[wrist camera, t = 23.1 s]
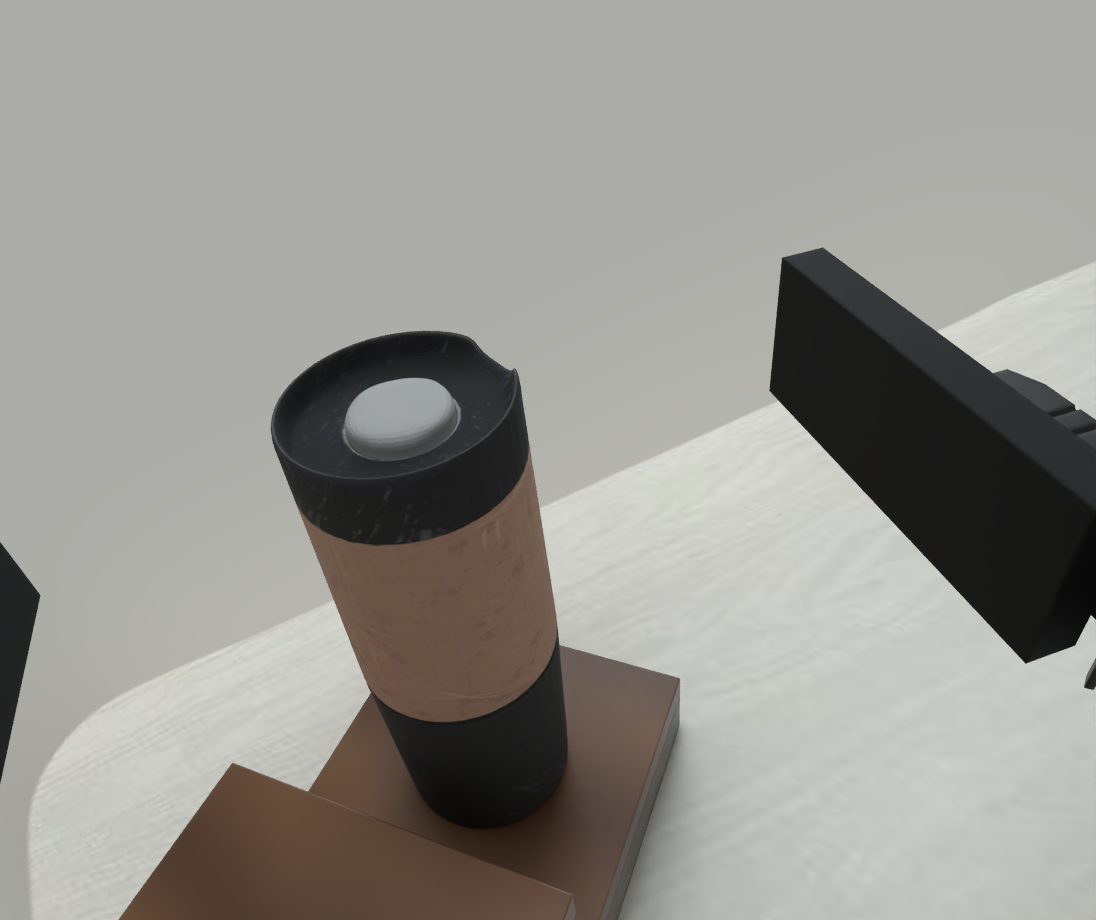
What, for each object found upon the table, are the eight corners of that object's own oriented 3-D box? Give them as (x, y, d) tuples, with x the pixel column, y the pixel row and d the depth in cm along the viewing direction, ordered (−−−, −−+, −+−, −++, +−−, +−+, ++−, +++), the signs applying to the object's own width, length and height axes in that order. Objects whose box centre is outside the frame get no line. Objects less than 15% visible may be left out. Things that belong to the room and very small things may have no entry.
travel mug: (386, 829, 35) (221, 481, 22) (428, 676, 41) (315, 329, 28) (564, 843, 34) (499, 485, 21) (582, 684, 40) (539, 325, 27)
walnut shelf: (438, 652, 47) (401, 528, 40) (679, 723, 42) (681, 596, 36) (172, 1101, 32) (46, 1017, 25) (498, 1291, 27) (445, 1249, 21)
